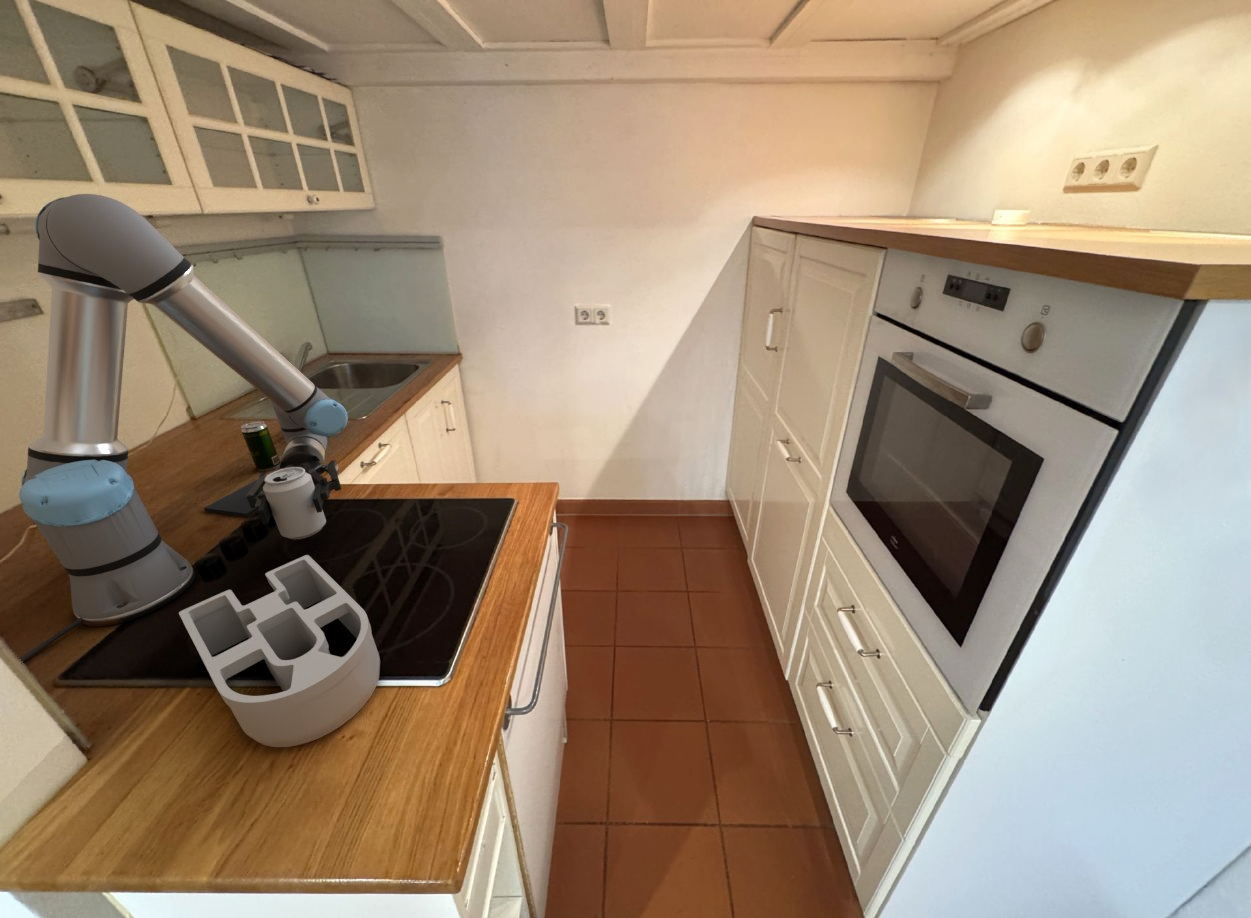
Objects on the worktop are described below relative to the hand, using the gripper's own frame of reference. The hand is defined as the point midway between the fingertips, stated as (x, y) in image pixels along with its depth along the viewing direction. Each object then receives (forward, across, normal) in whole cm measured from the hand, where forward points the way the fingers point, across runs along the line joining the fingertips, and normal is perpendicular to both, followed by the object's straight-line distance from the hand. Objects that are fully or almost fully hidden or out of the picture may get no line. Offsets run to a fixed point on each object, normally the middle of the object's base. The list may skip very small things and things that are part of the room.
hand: (290, 511), depth 87 cm
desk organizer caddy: (+27, -1, -12) cm, 29 cm away
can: (-5, 0, -7) cm, 9 cm away
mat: (-36, +13, -12) cm, 40 cm away
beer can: (-53, +13, -12) cm, 56 cm away
